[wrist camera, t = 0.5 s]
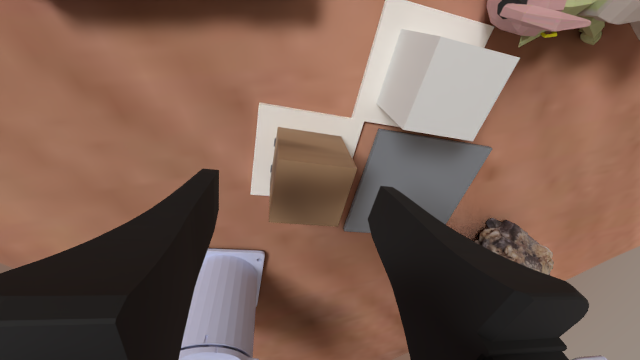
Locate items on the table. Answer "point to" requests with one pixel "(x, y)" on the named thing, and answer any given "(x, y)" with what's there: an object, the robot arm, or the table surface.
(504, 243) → the rock
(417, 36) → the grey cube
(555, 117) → the table surface
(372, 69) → the code tile
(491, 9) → the figurine
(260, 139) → the code tile
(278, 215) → the walnut cube
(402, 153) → the slate mat
